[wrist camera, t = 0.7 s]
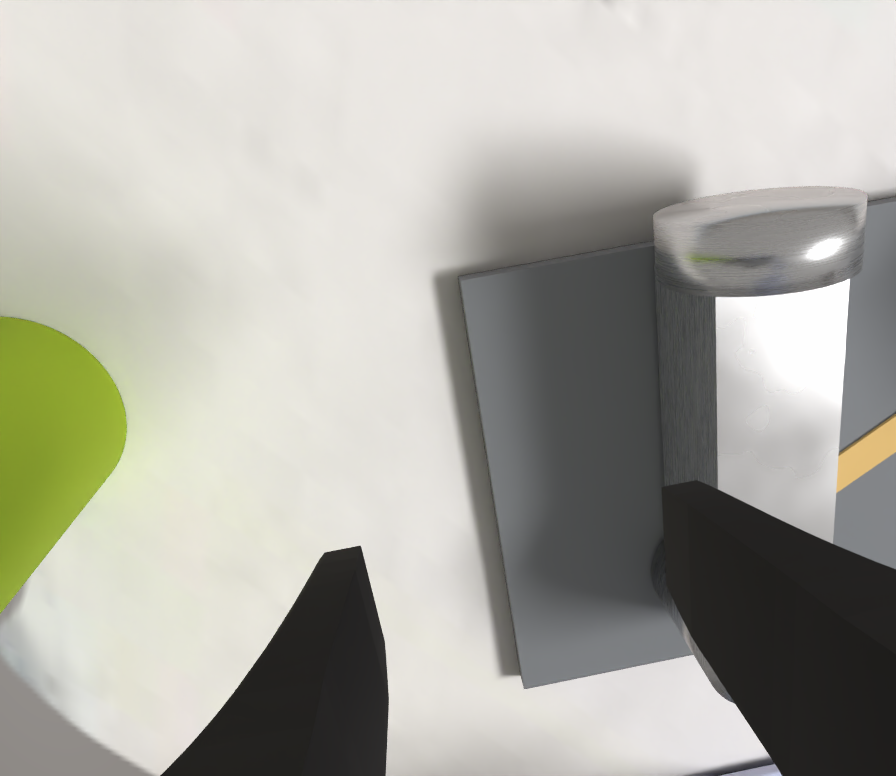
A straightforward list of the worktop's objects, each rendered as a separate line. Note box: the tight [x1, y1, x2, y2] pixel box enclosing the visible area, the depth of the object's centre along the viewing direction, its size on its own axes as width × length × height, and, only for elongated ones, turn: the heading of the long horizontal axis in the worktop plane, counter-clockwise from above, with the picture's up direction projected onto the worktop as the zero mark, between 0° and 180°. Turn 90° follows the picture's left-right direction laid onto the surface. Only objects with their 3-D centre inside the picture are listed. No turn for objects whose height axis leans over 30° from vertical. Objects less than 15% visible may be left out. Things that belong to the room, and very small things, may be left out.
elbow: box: [651, 186, 868, 703], centre depth 18 cm, size 14×5×5 cm, turn 9°
